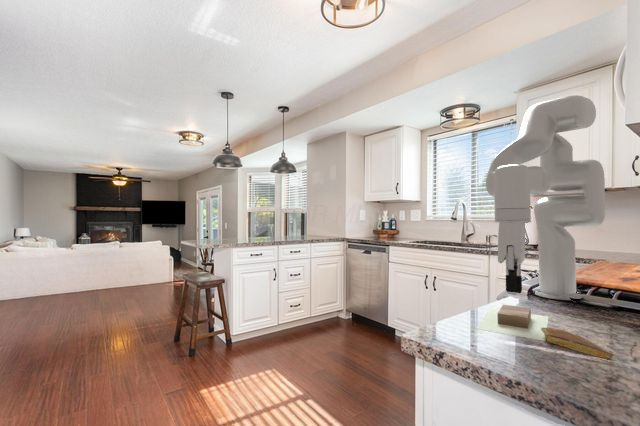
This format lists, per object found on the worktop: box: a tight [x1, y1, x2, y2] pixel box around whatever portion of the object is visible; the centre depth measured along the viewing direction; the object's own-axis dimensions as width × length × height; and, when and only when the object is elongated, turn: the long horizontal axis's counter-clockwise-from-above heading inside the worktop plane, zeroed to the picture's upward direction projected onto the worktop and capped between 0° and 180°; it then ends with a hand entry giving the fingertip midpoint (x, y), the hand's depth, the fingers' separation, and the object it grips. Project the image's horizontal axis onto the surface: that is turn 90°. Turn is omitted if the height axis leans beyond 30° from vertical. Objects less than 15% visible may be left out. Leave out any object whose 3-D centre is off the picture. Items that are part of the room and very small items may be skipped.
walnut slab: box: [498, 303, 532, 329], centre depth 79 cm, size 2×6×9 cm
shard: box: [541, 327, 614, 361], centre depth 63 cm, size 11×8×2 cm
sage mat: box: [476, 308, 549, 342], centre depth 78 cm, size 19×13×1 cm
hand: (513, 291), depth 79 cm, fingers closed
